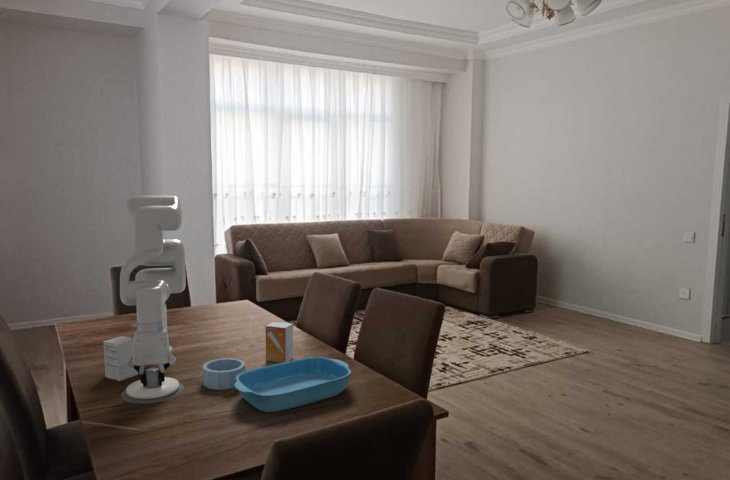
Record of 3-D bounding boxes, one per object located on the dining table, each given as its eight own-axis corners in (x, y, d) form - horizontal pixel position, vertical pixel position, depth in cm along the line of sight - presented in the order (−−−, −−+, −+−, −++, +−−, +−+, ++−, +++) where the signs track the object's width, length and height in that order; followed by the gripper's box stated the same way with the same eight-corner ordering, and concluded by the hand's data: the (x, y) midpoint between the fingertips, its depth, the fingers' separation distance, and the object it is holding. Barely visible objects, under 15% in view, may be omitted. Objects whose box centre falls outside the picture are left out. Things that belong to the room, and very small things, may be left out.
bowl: (195, 388, 175) (194, 369, 174) (216, 374, 187) (215, 356, 186) (233, 392, 171) (233, 373, 171) (252, 377, 184) (251, 360, 183)
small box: (265, 361, 201) (264, 325, 199) (273, 355, 207) (273, 321, 205) (286, 363, 198) (285, 327, 197) (293, 358, 204) (293, 323, 203)
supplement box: (124, 371, 189) (122, 335, 187) (138, 375, 185) (137, 338, 184) (104, 378, 183) (102, 340, 181) (119, 382, 179) (117, 344, 177)
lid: (115, 395, 166) (114, 376, 165) (146, 377, 180) (146, 359, 179) (160, 401, 162) (159, 381, 161) (188, 382, 177) (187, 364, 176)
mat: (107, 401, 164) (107, 399, 164) (145, 379, 182) (145, 378, 182) (161, 407, 160) (161, 406, 160) (195, 385, 177) (195, 383, 177)
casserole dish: (254, 424, 151) (254, 398, 150) (222, 397, 169) (221, 374, 168) (364, 393, 172) (365, 371, 172) (326, 372, 190) (326, 352, 189)
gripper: (118, 331, 163) (121, 392, 165) (179, 328, 167) (181, 386, 170) (122, 324, 170) (125, 382, 172) (180, 321, 174) (182, 377, 177)
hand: (152, 384), depth 171 cm, fingers closed on lid, 4 cm apart
